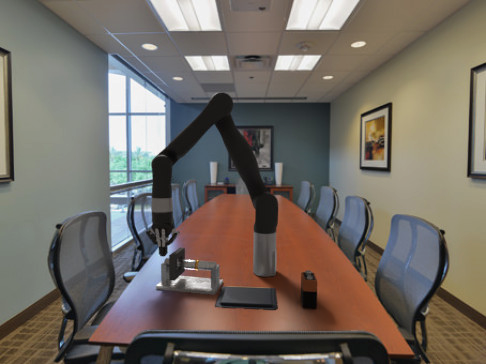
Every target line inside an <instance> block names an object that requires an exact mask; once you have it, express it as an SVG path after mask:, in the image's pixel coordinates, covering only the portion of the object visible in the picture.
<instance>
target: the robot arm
mask: <svg viewBox="0 0 486 364" xmlns="http://www.w3.org/2000/svg"><path fill="white" fill-rule="evenodd" d="M233 108H234V100H233V98H232V96H231V95H230V94H229V93H227V92H222V91H220V92H216V93H214V94H212V96H211V97H210V98H209V100H208V102H207V104H206V106H205V107H204V108H203V109H202V110H201V112H200V113H199V114H198V115H197V116H196V117H195V118H194V119H193V120H192V121H191V122H190V123H189V124H188V125H186V127H184V128H183V130H182V131H180V132H179V133H178V134H177V135H175V137H174V138H173V139H172V140H171V141H170V142H169V143H168V145H167V146H166V147H164V148H163V149H162V150H161V151H160V152H159V153H158V154H156V156H154V158H152V160H151V161H150V167H151V172H152V173H151V174H152V175H151V176H152V184H151V208H150V209H151V224H152V225H151V228H150V229H148V230H146V231H145V234H146V235H147V236H148V238H149V240H150V241H151V242H152V244H153V245H157V246H158V255H159V256H160V257H163V258H164V257H166V256H167V255H168V247H169V246H170V245H172V244H173V243H174V241H175V240H176V239H177V237H178V236H179V235H180V231H179V230H176V229H175V226H174V207H173V206H174V205H173V204H174V203H173V202H174V201H173V188H172V187H173V186H172V180H173V166H174V165H175V164H176V163H177V162H178V161H179V160H180V159H181V158H183V157H185V156H186V155H187V153H189V152H190V151H191V149H192V148H194V146H196V145H197V143H198V142H199V141H200V140H201V139H202V137H204V135H205V134H206V133H207V132H208V131H209V130H210V129H211V128H212V127H213V126H214V125H215V128H216V129H217V131H218V133H219V134H220V137H221V138H222V141H223V144H224V146H225V148H226V151H227V153H228V156H229V157H230V160H231V162H232V164H233V166H234V168H235V170H236V171H237V173H238V175H239V178H241V180H242V182H243V183H244V185H245V187H246V190H247V192H248V195H249V198H250V200H251V204H252V206H253V209H254V210H255V215H254V217H255V219H254V223H253V252H252V253H253V254H252V255H253V258H252V259H253V261H252V263H253V265H252V266H253V268H252V269H253V270H252V271H253V274H254V275H256V276H259V277H266V278H267V277H275V276H276V273H277V250H278V249H277V227H278V223H279V201H278V198H277V196H276V195H274V194H273V193H271V192H270V191H269V190H268V188H267V187H266V184H265V182H264V180H263V179H262V176H261V171H260V168H259V163H258V160H257V156H256V155H255V153H254V151H253V148H252V146H251V144H250V142H248V140H247V139H246V137H245V136H244V135H243V134H242V133H241V132H240V130H239V129H238V128H237V125H236V124H235V121H234V119H233V116H232V111H233Z"/></svg>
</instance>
